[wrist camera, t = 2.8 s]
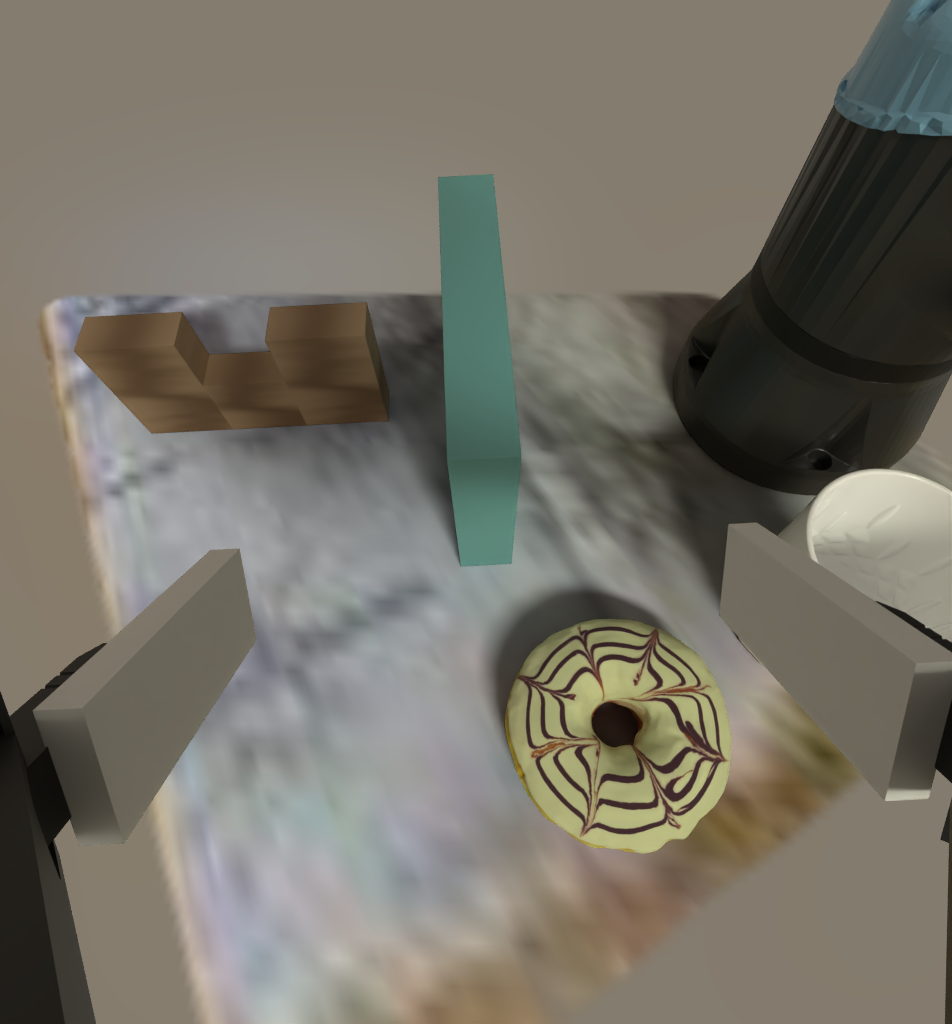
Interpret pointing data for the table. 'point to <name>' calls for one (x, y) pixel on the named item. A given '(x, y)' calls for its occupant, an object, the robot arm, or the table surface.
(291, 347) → the walnut slotted plate
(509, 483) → the teal upright panel
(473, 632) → the table surface
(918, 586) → the white cup
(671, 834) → the decorated donut
